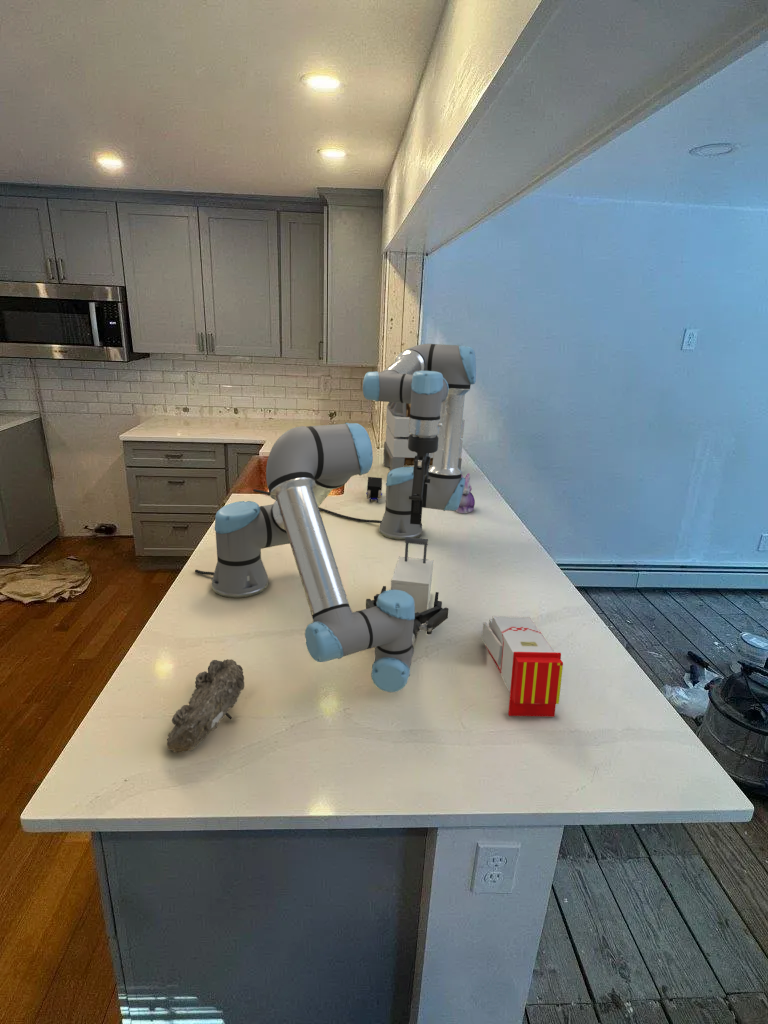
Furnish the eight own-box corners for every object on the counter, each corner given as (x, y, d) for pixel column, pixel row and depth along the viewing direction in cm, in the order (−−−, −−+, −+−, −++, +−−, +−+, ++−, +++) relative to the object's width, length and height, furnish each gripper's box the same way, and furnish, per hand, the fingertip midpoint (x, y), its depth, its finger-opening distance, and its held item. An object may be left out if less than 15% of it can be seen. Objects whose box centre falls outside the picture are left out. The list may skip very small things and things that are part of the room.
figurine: (461, 515, 220) (465, 478, 215) (447, 507, 229) (450, 471, 224) (481, 512, 224) (485, 476, 219) (466, 504, 233) (469, 469, 228)
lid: (398, 559, 157) (400, 532, 154) (433, 562, 156) (435, 536, 153) (391, 582, 143) (392, 554, 140) (428, 586, 142) (430, 558, 139)
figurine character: (382, 507, 229) (381, 492, 243) (383, 490, 226) (382, 475, 239) (365, 506, 229) (366, 491, 242) (366, 489, 226) (366, 475, 239)
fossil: (192, 660, 117) (244, 628, 112) (224, 691, 120) (276, 661, 115) (142, 746, 98) (202, 712, 93) (182, 779, 101) (242, 748, 96)
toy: (528, 601, 136) (572, 659, 107) (523, 653, 139) (565, 722, 110) (478, 600, 136) (508, 657, 107) (474, 652, 139) (503, 722, 109)
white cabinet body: (396, 591, 159) (398, 560, 156) (430, 595, 158) (432, 564, 155) (389, 616, 146) (391, 582, 143) (426, 620, 145) (428, 587, 142)
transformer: (382, 463, 289) (386, 382, 275) (445, 464, 293) (451, 384, 279) (390, 482, 257) (394, 392, 243) (460, 483, 261) (468, 394, 247)
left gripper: (344, 645, 129) (362, 601, 149) (454, 659, 125) (457, 612, 145) (344, 616, 126) (363, 575, 146) (457, 630, 123) (460, 586, 143)
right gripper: (435, 447, 129) (428, 533, 137) (441, 426, 153) (436, 501, 160) (402, 444, 130) (397, 530, 138) (414, 424, 154) (409, 498, 161)
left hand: (410, 593), depth 146 cm, fingers open, 13 cm apart
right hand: (418, 514), depth 149 cm, fingers open, 13 cm apart
